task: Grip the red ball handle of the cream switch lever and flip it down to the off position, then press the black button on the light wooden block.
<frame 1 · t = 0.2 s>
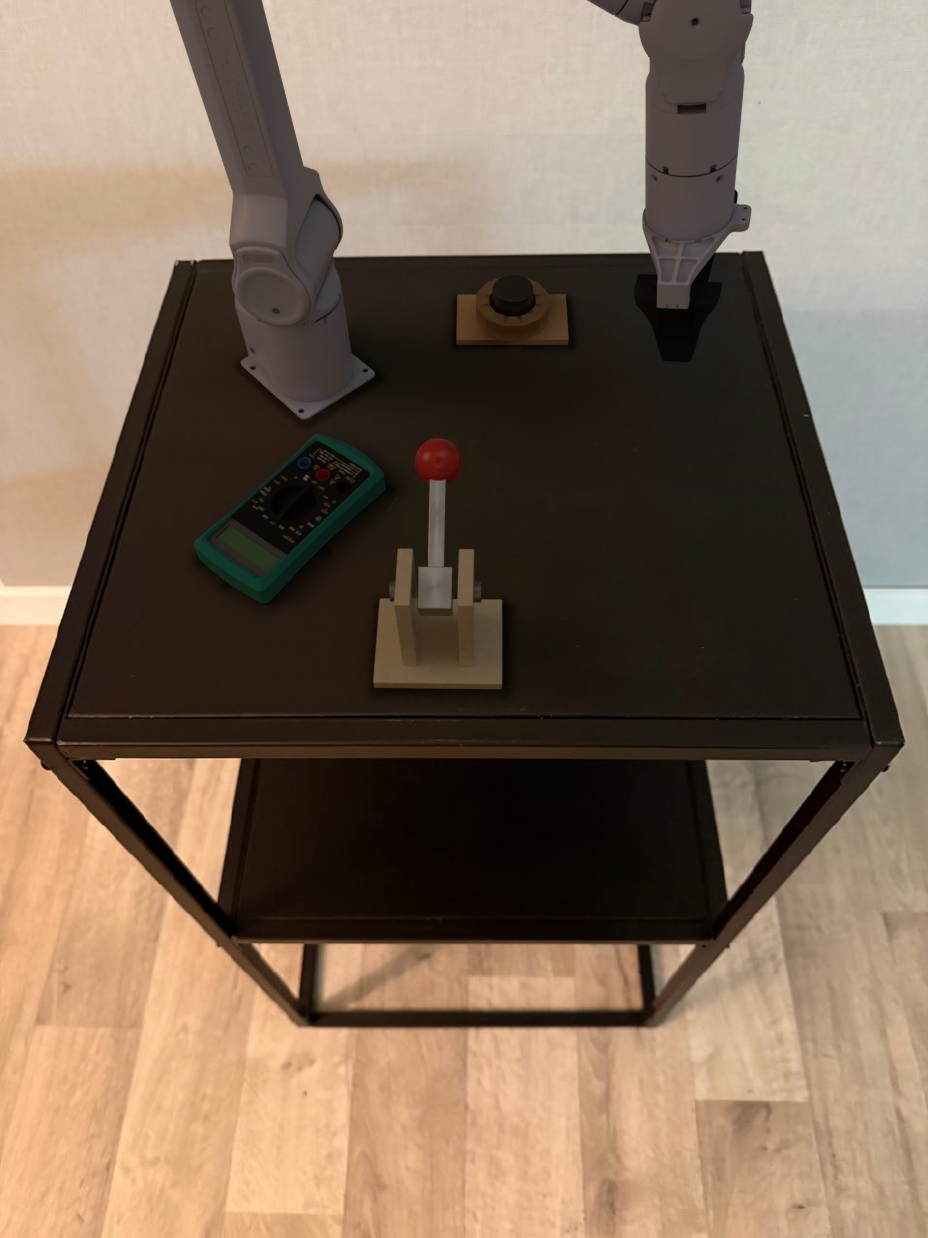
hand: (684, 322, 70), 11 cm above the table, tool pointing down, fingers open, 7 cm apart
switch bracket: (439, 647, 68), on the table
button block: (511, 322, 86), on the table
start button: (512, 295, 83), point 3 cm above the table, slide at 0.1 cm
digital multimeter: (296, 527, 74), on the table
switch lever: (437, 524, 63), point 9 cm above the table, hinge at 20.0°
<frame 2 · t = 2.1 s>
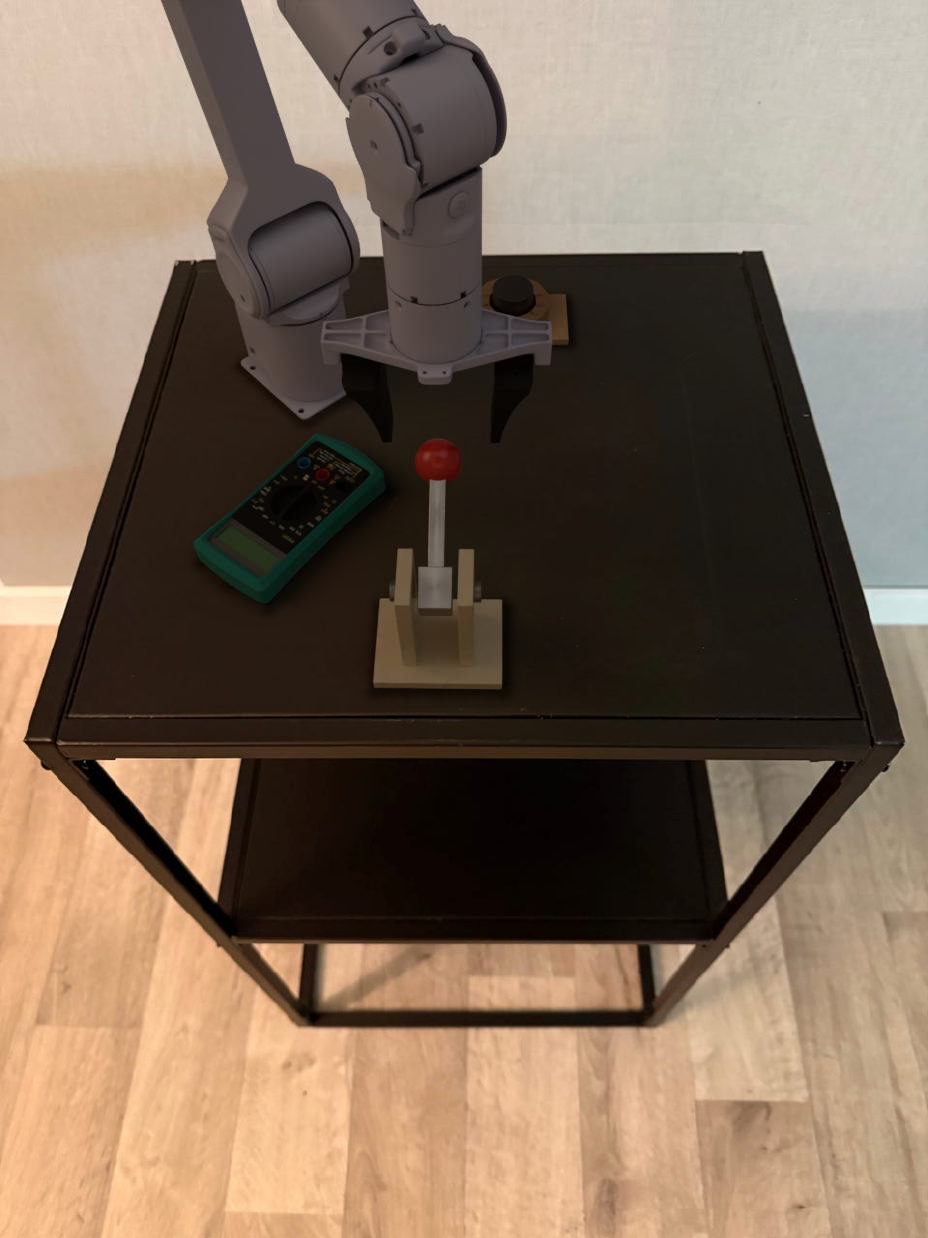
hand: (441, 432, 67), 9 cm above the table, tool pointing down, fingers open, 7 cm apart
nothing on the table moved.
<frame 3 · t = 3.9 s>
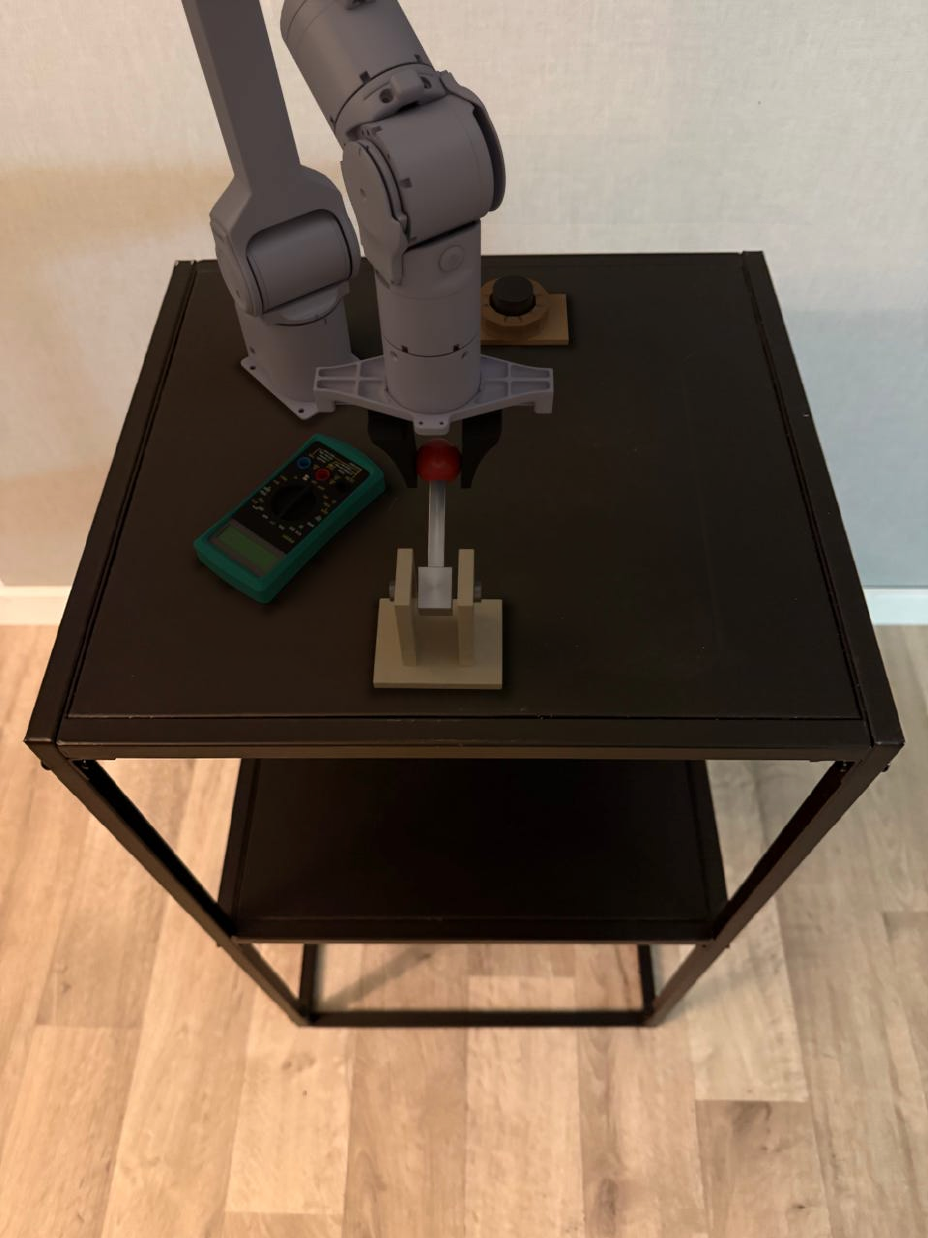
hand: (439, 477, 65), 9 cm above the table, tool pointing down, fingers closed on switch lever, 3 cm apart
switch lever: (437, 524, 63), point 9 cm above the table, hinge at 20.0°, touching gripper
everything else where it was.
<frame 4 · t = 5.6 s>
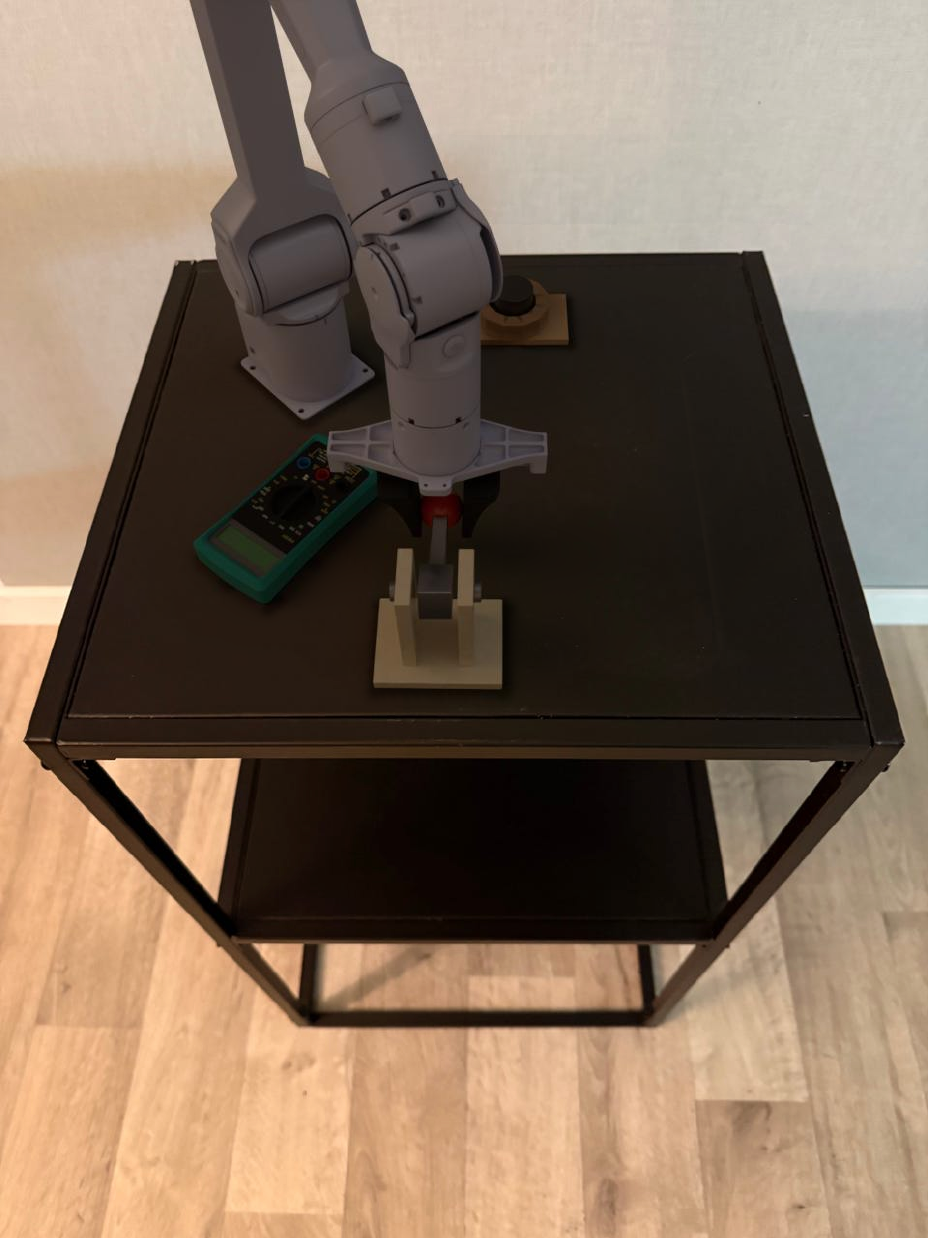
hand: (441, 526, 70), 3 cm above the table, tool pointing down, fingers closed on switch lever, 3 cm apart
switch lever: (438, 547, 65), point 6 cm above the table, hinge at -14.9°, touching gripper
everything else where it was.
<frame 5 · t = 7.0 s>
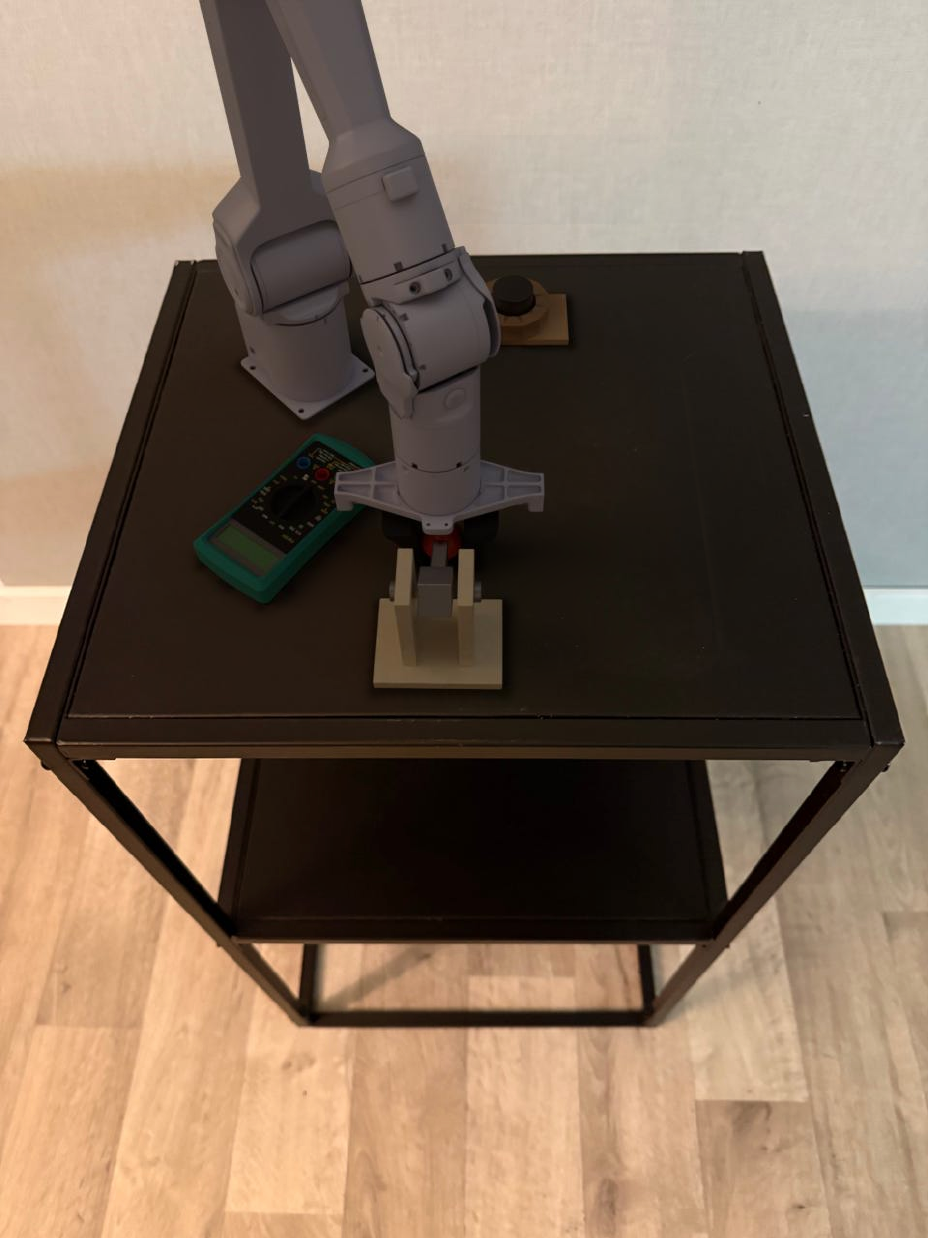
hand: (444, 560, 73), 0 cm above the table, tool pointing down, fingers closed on switch lever, 3 cm apart
switch lever: (439, 562, 66), point 5 cm above the table, hinge at -31.1°, touching gripper
everything else where it was.
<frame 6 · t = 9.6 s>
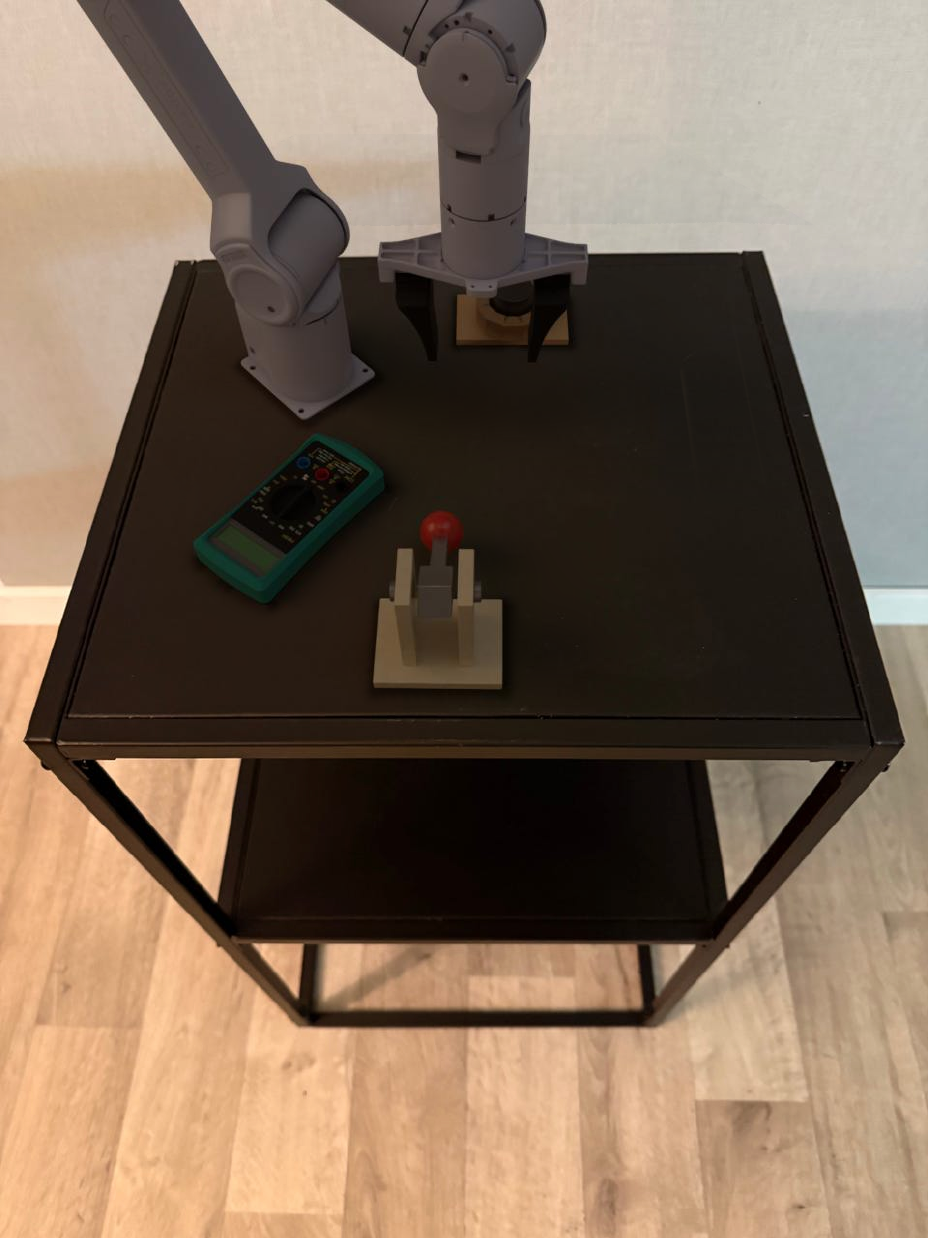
hand: (482, 352, 73), 8 cm above the table, tool pointing down, fingers open, 7 cm apart
switch lever: (439, 559, 66), point 5 cm above the table, hinge at -27.8°
everything else where it was.
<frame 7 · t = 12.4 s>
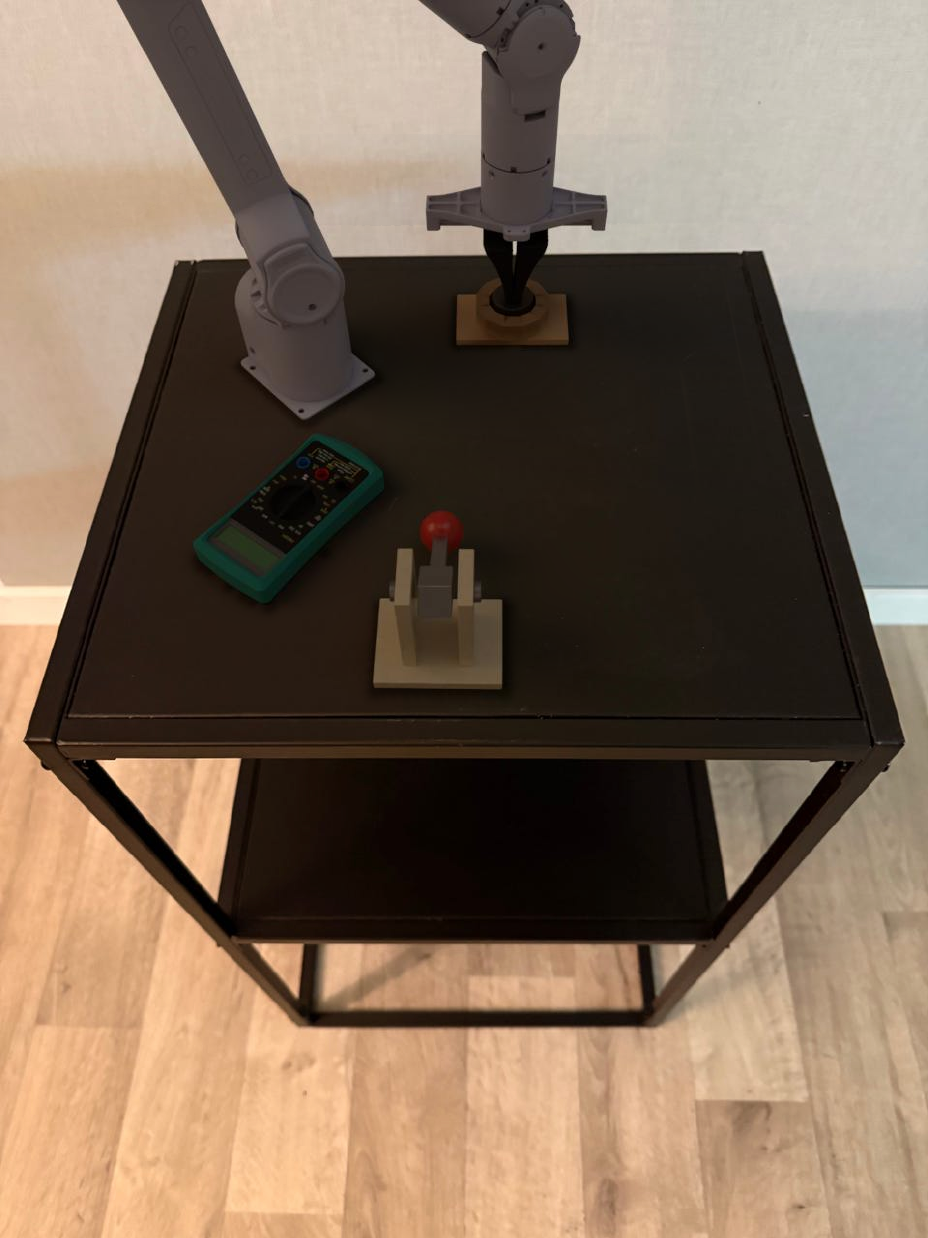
hand: (513, 295, 83), 3 cm above the table, tool pointing down, fingers closed, pressing on start button
start button: (512, 303, 84), point 2 cm above the table, slide at -0.7 cm, touching gripper
everything else where it was.
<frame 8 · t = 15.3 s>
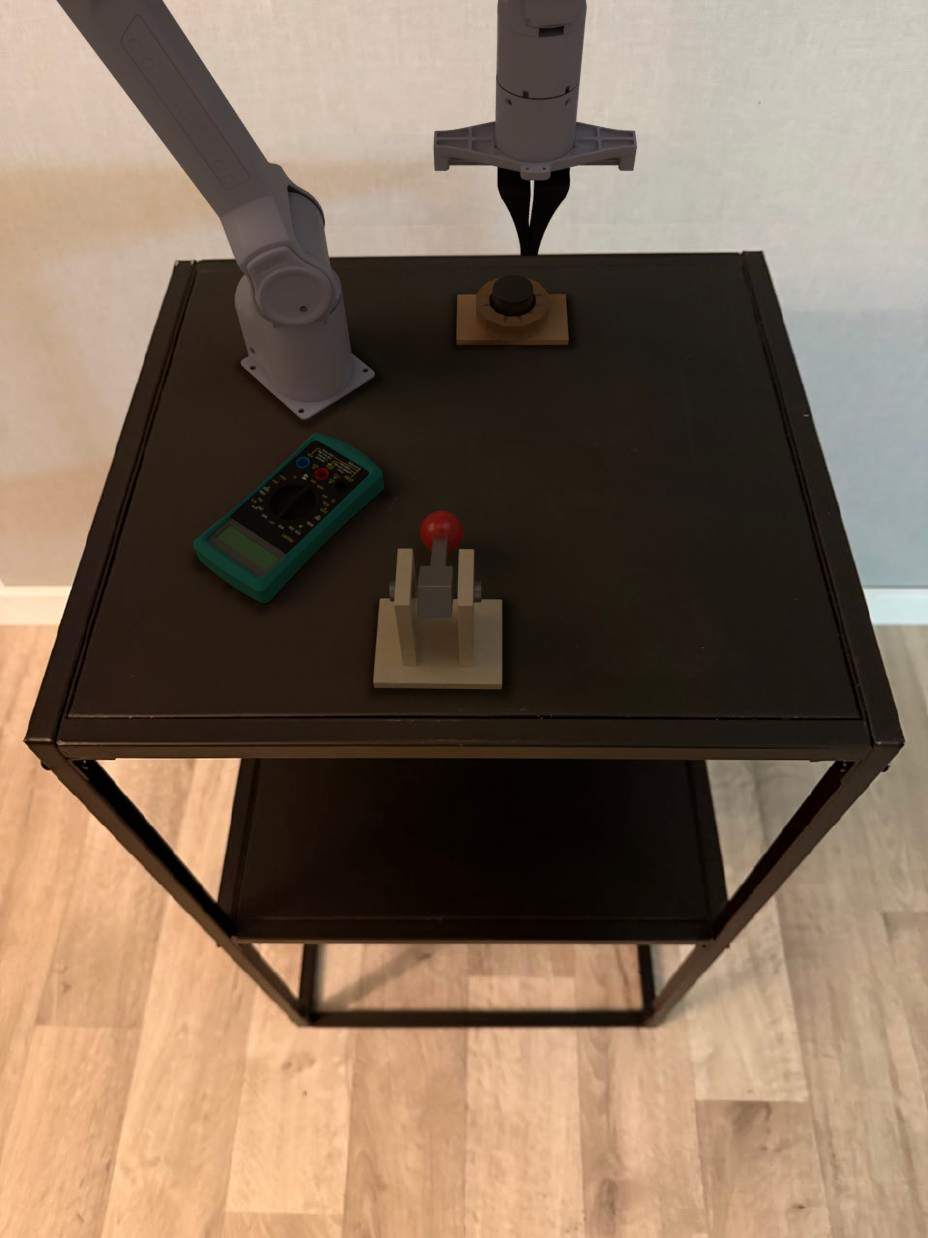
hand: (528, 248, 75), 10 cm above the table, tool pointing down, fingers closed
start button: (512, 295, 83), point 3 cm above the table, slide at 0.1 cm
everything else where it was.
at the end: switch lever at -28° (first picture: +20°); start button pushed in 1.2 cm at the most during the clip, back to where it started at the end; start button slide at 0.1 cm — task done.
